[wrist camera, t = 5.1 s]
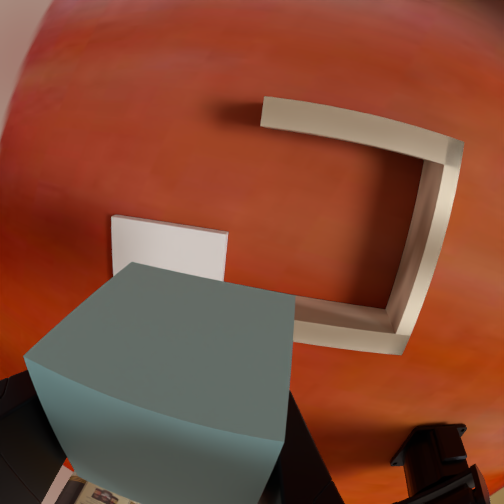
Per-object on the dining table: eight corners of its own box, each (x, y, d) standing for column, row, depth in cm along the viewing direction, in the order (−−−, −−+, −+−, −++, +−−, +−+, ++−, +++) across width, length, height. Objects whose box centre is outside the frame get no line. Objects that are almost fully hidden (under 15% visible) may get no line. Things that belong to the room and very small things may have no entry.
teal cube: (265, 411, 11) (244, 530, 6) (138, 379, 11) (78, 476, 7) (295, 295, 9) (284, 442, 4) (131, 261, 9) (23, 356, 5)
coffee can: (111, 465, 34) (72, 538, 21) (83, 421, 31) (29, 503, 18) (177, 484, 33) (145, 569, 19) (157, 441, 29) (110, 544, 16)
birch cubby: (391, 329, 20) (401, 355, 18) (243, 306, 21) (234, 331, 19) (441, 140, 16) (464, 141, 13) (269, 103, 17) (264, 96, 14)
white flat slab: (215, 367, 24) (214, 372, 23) (123, 343, 24) (120, 347, 24) (228, 231, 20) (226, 234, 19) (115, 214, 20) (111, 216, 20)
